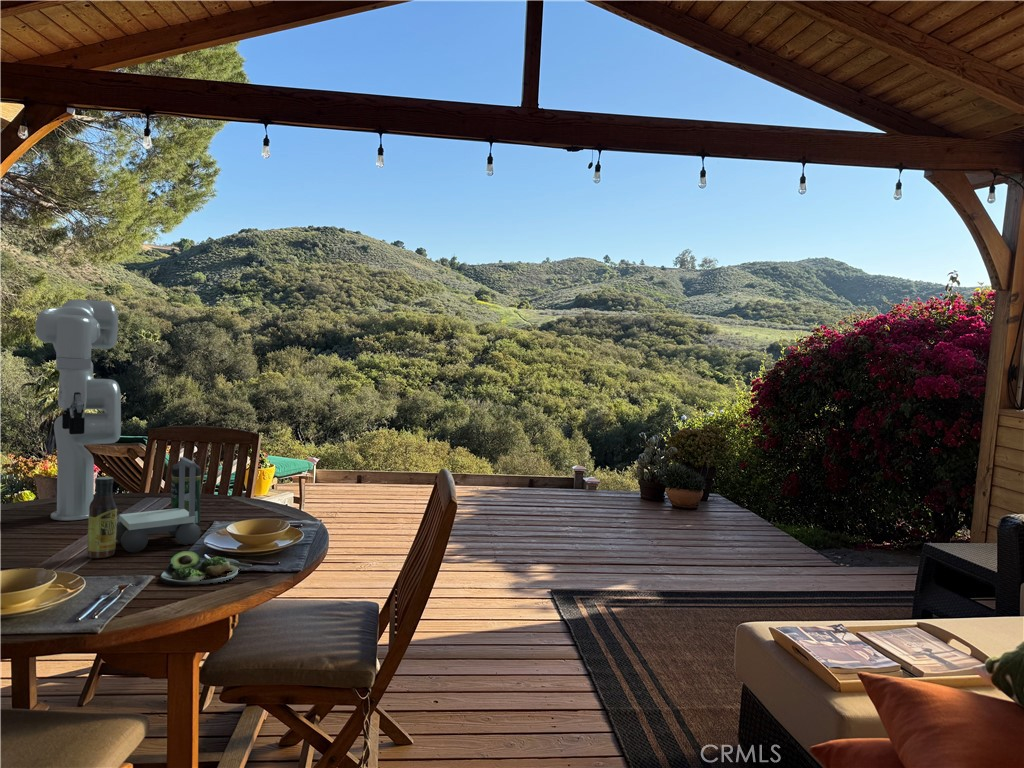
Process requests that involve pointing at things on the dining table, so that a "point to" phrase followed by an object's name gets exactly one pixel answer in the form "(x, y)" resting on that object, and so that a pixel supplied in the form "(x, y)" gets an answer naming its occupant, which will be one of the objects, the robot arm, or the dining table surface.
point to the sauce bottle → (102, 520)
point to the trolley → (162, 518)
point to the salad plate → (198, 569)
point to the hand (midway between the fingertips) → (73, 431)
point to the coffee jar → (176, 489)
